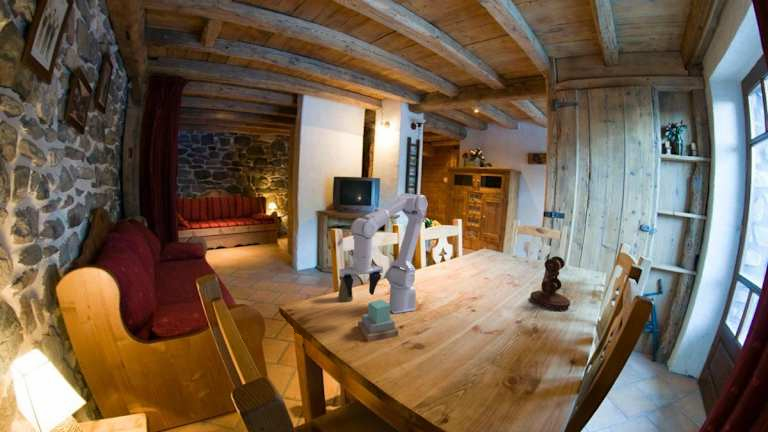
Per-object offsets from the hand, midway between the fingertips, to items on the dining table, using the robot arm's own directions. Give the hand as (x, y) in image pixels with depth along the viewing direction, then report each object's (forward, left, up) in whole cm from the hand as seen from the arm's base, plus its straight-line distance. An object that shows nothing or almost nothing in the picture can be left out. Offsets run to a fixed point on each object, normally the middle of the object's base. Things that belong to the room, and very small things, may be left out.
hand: (360, 295), depth 100 cm
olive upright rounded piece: (-1, -21, -11) cm, 24 cm away
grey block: (-4, +5, -9) cm, 11 cm away
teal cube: (-5, +6, -6) cm, 10 cm away
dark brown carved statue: (-82, +8, -11) cm, 83 cm away
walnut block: (-4, +6, -11) cm, 13 cm away
